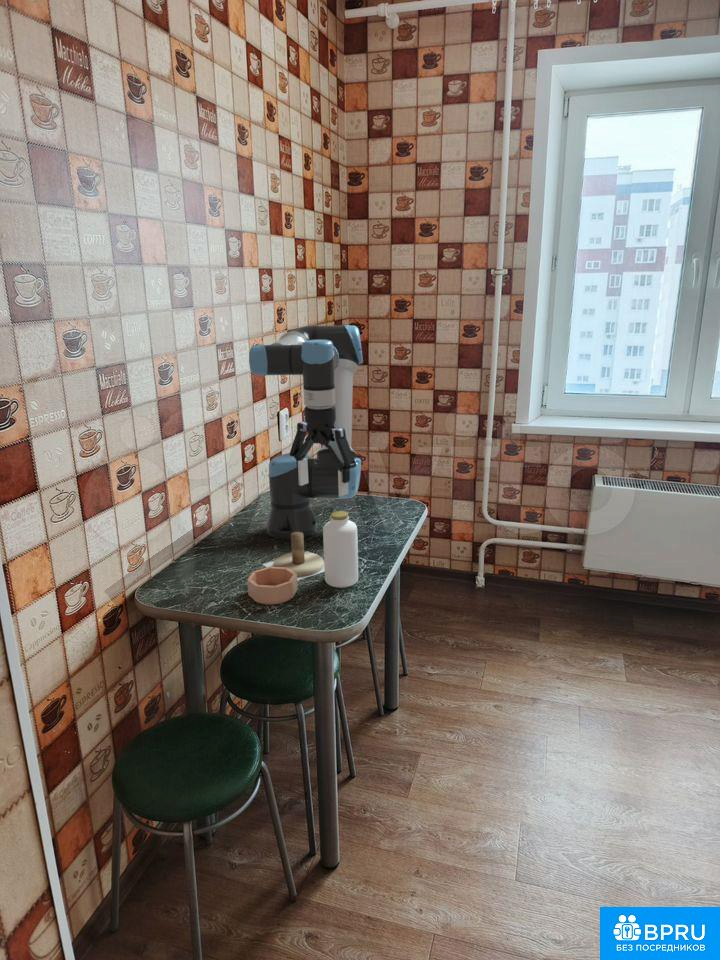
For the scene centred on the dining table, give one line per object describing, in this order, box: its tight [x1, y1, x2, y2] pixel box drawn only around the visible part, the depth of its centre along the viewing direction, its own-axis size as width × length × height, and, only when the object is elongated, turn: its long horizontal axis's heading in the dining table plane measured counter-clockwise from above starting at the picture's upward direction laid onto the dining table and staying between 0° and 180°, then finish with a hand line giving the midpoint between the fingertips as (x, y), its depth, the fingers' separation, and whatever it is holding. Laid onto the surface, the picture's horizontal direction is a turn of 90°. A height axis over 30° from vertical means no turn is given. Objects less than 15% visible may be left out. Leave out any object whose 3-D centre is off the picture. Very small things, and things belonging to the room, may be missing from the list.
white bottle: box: [322, 510, 359, 589], centre depth 159 cm, size 8×8×18 cm
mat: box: [262, 550, 325, 581], centre depth 170 cm, size 14×14×1 cm
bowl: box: [246, 567, 299, 606], centre depth 155 cm, size 11×11×5 cm
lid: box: [273, 532, 324, 577], centre depth 169 cm, size 13×13×9 cm
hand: (323, 489), depth 163 cm, fingers open, 13 cm apart
